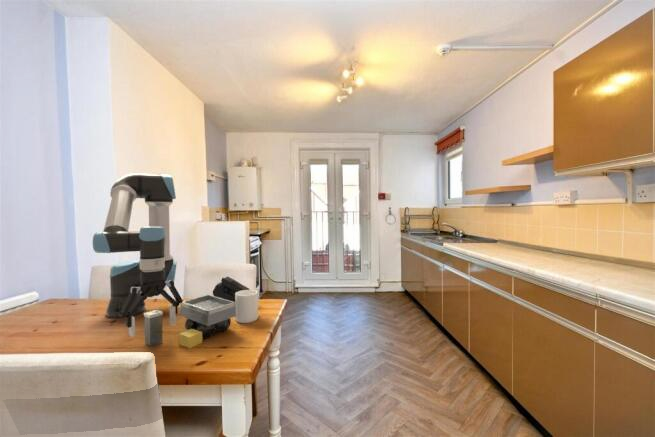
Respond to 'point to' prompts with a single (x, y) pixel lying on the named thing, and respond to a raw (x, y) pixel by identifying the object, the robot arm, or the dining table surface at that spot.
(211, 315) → the grey open rectangular container
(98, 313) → the dining table surface
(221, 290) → the tool
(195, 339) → the block
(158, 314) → the grey tall block
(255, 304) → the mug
